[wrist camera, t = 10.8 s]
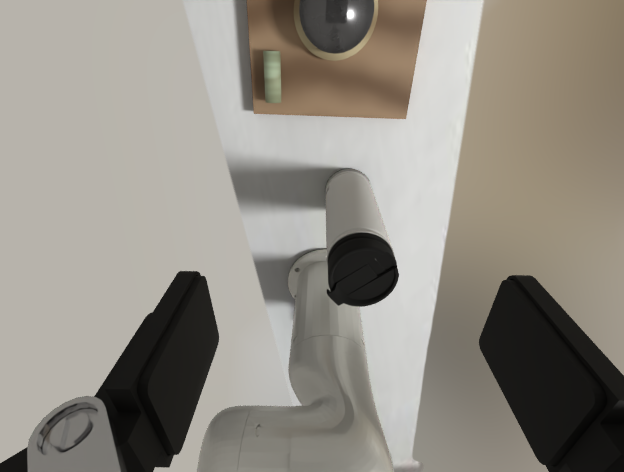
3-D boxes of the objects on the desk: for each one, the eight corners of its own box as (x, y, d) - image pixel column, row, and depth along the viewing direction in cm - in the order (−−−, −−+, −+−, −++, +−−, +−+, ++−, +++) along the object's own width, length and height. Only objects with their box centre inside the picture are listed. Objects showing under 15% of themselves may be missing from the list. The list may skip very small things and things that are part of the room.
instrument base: (403, 116, 39) (409, 122, 36) (256, 111, 39) (251, 116, 36) (443, -119, 28) (456, -138, 25) (241, -125, 28) (233, -144, 25)
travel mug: (314, 187, 44) (309, 279, 27) (354, 158, 41) (376, 239, 24) (340, 218, 46) (350, 321, 29) (379, 193, 44) (415, 289, 27)
